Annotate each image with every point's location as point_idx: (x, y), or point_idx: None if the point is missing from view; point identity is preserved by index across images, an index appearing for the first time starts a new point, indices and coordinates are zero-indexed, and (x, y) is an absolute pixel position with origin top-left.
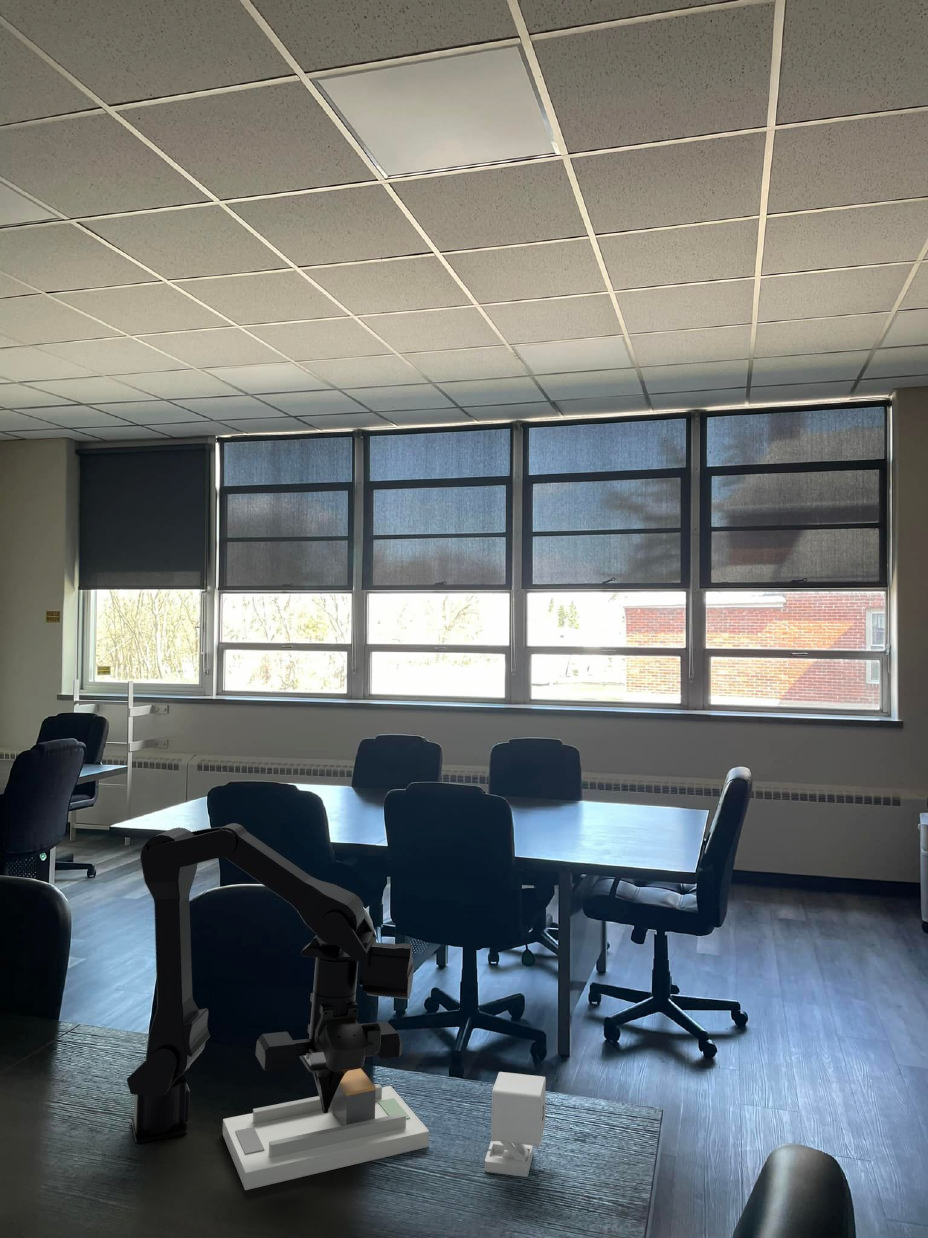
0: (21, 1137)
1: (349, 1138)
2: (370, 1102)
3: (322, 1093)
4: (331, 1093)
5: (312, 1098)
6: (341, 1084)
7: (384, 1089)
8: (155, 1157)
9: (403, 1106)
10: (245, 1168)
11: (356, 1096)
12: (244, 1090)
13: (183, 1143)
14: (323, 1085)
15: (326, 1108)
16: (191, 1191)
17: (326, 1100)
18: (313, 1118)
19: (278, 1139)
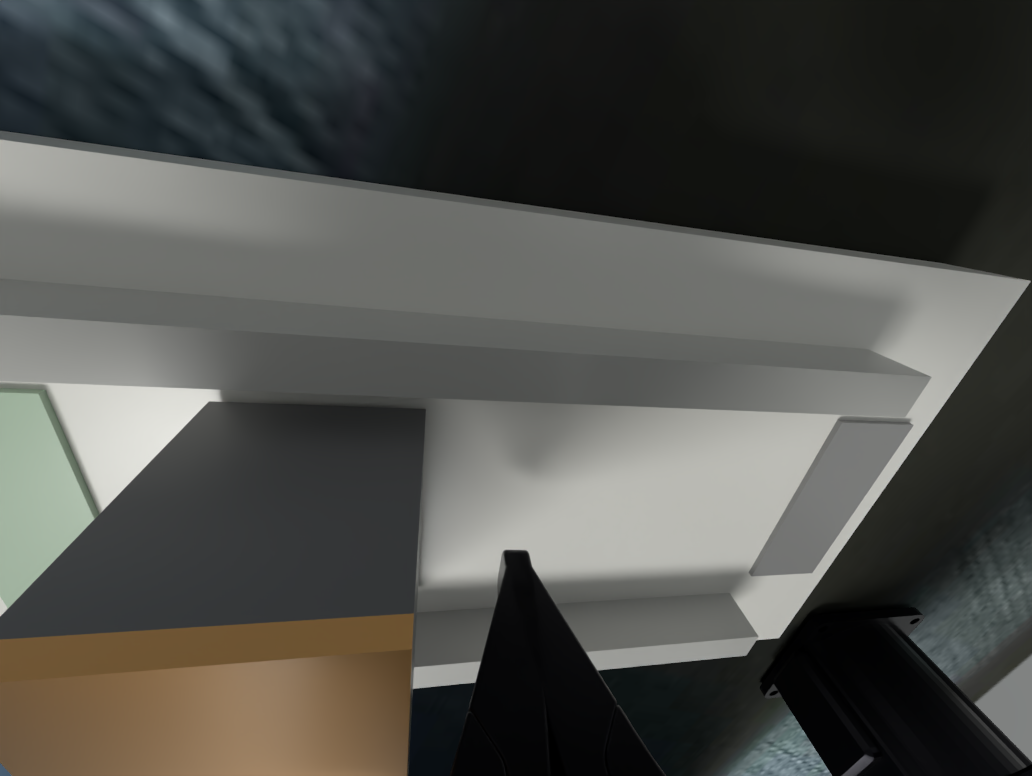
0: (1001, 670)
1: (439, 319)
2: (153, 522)
3: (602, 683)
4: (515, 675)
5: None
6: (402, 762)
7: None
8: (930, 550)
9: None
10: (997, 321)
11: (294, 594)
12: None
13: (841, 584)
14: (634, 773)
15: (521, 573)
16: (1027, 357)
17: (542, 622)
18: None
19: (736, 476)
